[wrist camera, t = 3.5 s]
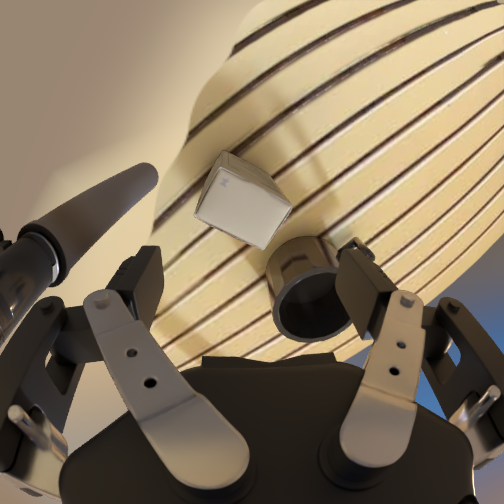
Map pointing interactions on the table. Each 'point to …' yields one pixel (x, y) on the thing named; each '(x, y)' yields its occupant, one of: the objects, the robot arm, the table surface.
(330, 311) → the mug
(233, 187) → the cosmetic box
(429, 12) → the table surface
